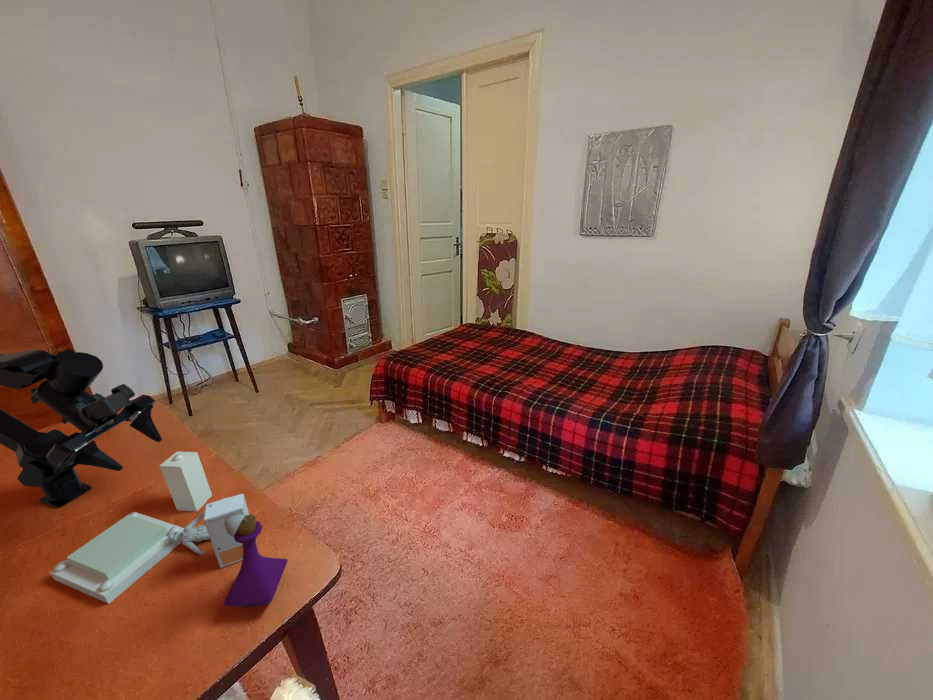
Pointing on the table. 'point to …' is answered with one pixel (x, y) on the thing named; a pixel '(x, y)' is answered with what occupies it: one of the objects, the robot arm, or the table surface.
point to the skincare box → (220, 539)
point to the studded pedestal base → (117, 556)
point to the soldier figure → (191, 535)
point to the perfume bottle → (252, 565)
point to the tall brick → (186, 480)
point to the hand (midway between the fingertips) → (142, 454)
